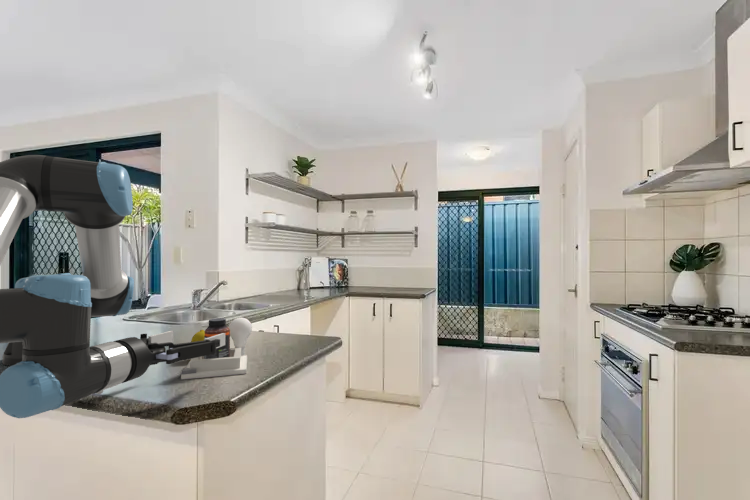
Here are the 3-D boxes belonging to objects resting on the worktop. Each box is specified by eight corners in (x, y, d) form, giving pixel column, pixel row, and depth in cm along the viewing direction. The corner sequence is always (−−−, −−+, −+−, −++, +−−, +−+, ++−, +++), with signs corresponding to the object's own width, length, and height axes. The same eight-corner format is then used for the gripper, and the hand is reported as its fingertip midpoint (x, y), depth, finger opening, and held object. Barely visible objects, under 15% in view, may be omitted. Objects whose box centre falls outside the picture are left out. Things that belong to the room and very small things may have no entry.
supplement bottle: (216, 360, 95) (216, 316, 95) (234, 362, 93) (235, 317, 94) (198, 366, 89) (199, 320, 90) (217, 368, 87) (218, 321, 88)
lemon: (195, 356, 103) (195, 328, 103) (215, 355, 103) (215, 327, 103) (186, 361, 97) (187, 331, 97) (208, 361, 98) (208, 331, 98)
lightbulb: (243, 360, 99) (244, 319, 99) (222, 358, 100) (223, 319, 100) (255, 354, 105) (256, 316, 105) (236, 353, 106) (236, 315, 106)
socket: (191, 363, 96) (191, 349, 96) (247, 358, 100) (247, 346, 100) (181, 379, 82) (181, 364, 82) (246, 373, 87) (246, 358, 87)
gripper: (56, 380, 65) (150, 351, 86) (177, 389, 61) (246, 356, 81) (58, 338, 66) (151, 319, 86) (178, 344, 61) (246, 323, 82)
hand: (197, 337), depth 84 cm, fingers open, 13 cm apart
